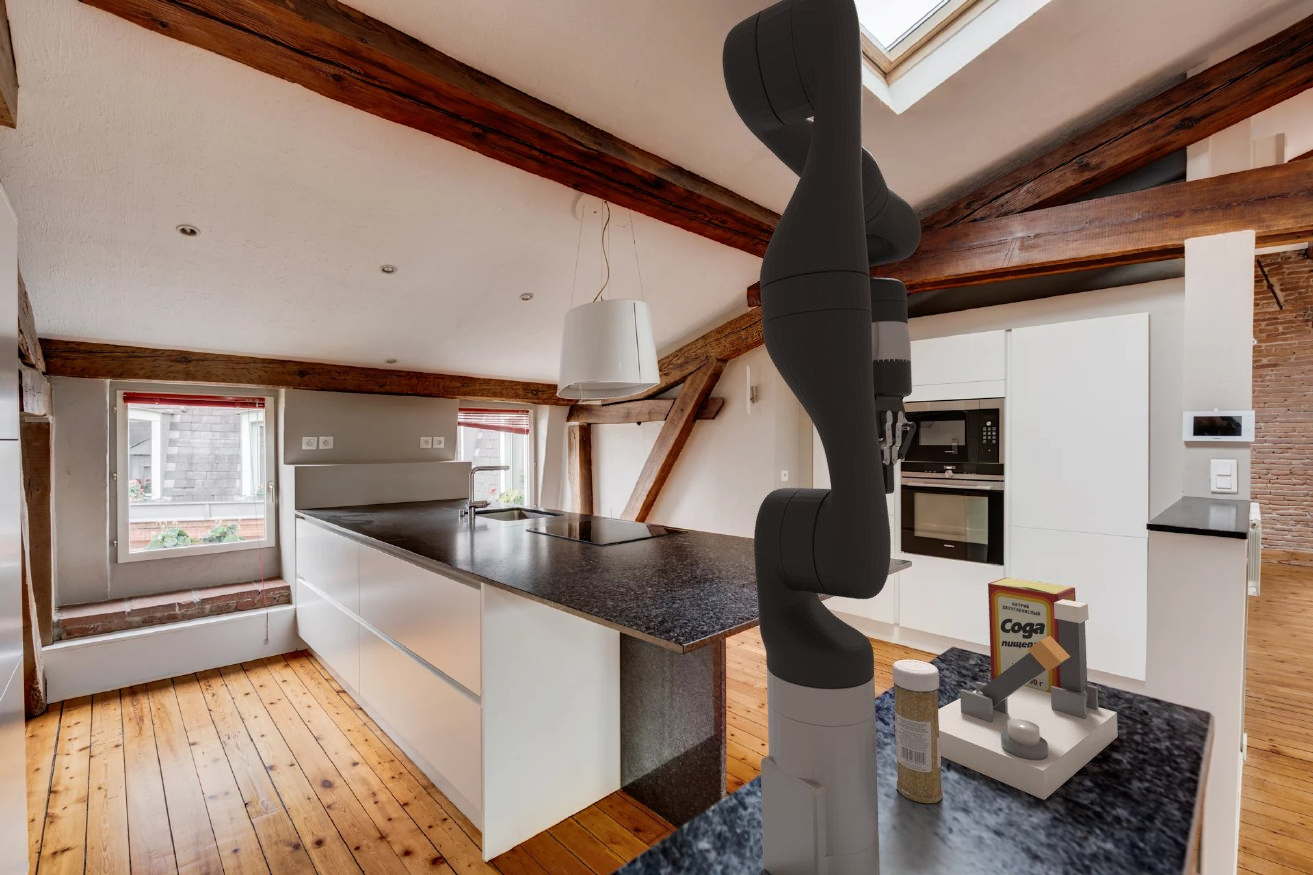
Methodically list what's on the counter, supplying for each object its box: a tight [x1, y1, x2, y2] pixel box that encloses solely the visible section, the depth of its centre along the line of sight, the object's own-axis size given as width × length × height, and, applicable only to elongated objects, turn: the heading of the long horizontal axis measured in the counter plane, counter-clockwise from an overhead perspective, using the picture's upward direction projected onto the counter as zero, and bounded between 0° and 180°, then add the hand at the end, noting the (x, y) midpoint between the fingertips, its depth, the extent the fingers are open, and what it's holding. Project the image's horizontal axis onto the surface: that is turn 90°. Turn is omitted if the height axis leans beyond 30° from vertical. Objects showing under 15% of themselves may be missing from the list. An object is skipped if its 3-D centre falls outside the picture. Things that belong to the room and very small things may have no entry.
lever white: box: [1054, 599, 1090, 702], centre depth 74 cm, size 3×3×13 cm
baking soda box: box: [987, 577, 1077, 693], centre depth 87 cm, size 10×6×16 cm
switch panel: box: [938, 681, 1119, 801], centre depth 72 cm, size 22×14×6 cm, turn 125°
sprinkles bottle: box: [891, 659, 944, 804], centre depth 61 cm, size 5×5×13 cm
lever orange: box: [976, 636, 1071, 707], centre depth 70 cm, size 3×3×13 cm
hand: (883, 493), depth 75 cm, fingers closed
